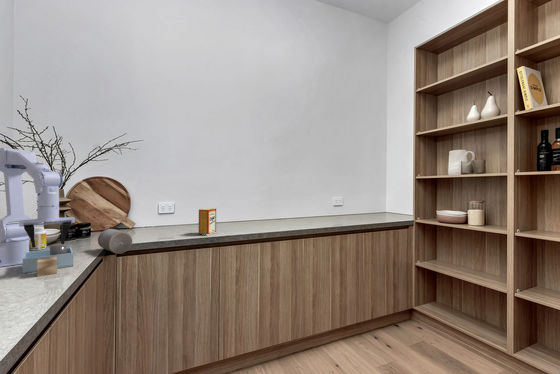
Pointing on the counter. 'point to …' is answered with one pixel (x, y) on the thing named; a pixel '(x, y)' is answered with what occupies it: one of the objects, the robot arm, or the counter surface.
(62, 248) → the grey cylinder
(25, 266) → the tote
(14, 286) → the counter surface
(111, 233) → the pillar candle
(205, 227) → the baking soda box
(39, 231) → the supplement bottle
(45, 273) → the oak block
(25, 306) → the counter surface
